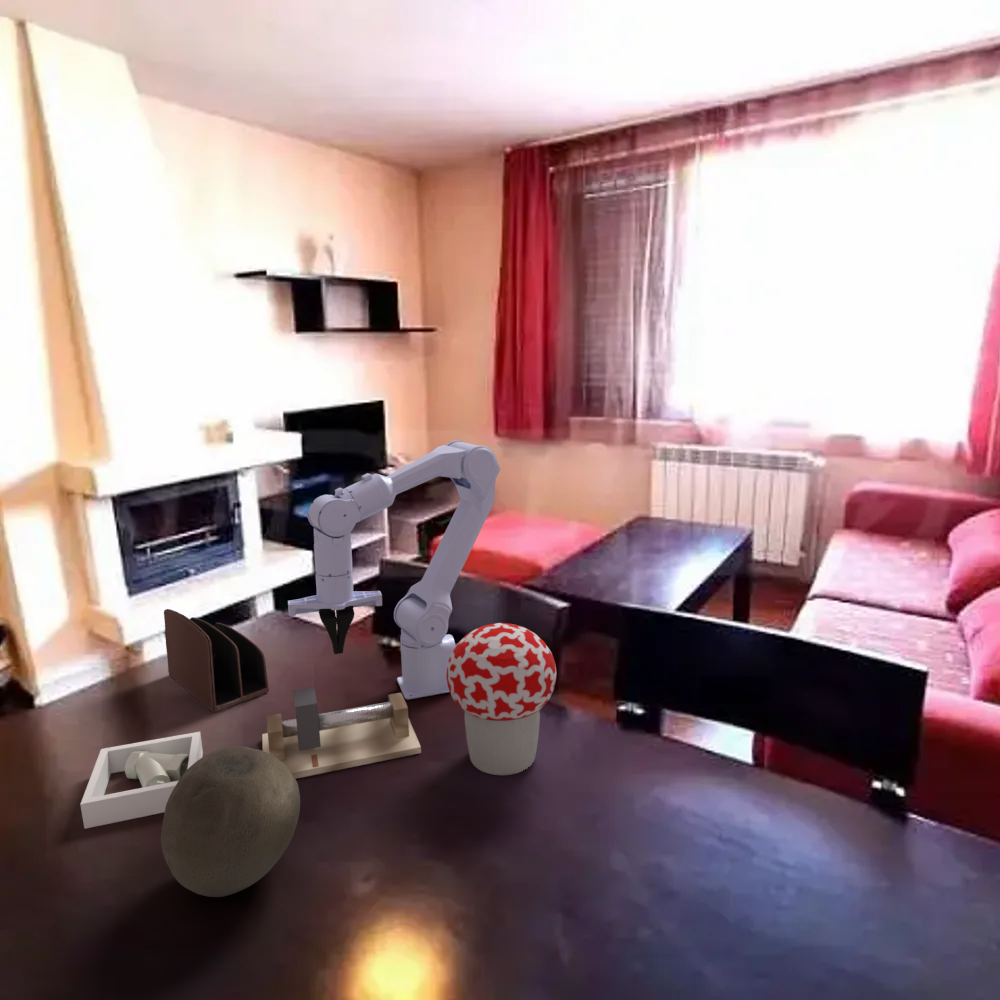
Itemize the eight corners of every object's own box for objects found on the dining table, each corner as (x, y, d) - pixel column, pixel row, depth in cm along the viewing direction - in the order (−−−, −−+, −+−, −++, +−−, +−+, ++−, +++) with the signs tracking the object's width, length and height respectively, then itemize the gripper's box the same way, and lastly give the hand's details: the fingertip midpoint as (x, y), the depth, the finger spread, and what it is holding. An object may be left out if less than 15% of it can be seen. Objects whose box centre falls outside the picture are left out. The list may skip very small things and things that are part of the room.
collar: (317, 728, 106) (314, 686, 104) (320, 746, 101) (317, 703, 100) (297, 732, 105) (293, 690, 104) (299, 750, 100) (295, 707, 99)
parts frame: (202, 752, 104) (200, 731, 103) (196, 805, 92) (193, 781, 91) (104, 770, 100) (101, 749, 99) (84, 828, 88) (80, 804, 87)
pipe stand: (404, 713, 114) (403, 681, 113) (421, 752, 103) (419, 717, 102) (262, 739, 107) (259, 705, 106) (264, 785, 96) (260, 747, 95)
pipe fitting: (166, 805, 93) (194, 771, 99) (161, 780, 92) (190, 748, 98) (111, 800, 94) (142, 768, 101) (106, 776, 93) (137, 744, 99)
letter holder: (213, 714, 115) (204, 634, 112) (168, 676, 129) (159, 604, 126) (270, 693, 122) (263, 617, 119) (221, 659, 136) (213, 590, 133)
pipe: (403, 710, 109) (402, 695, 108) (406, 718, 106) (406, 703, 106) (268, 735, 102) (267, 719, 102) (268, 744, 100) (267, 728, 99)
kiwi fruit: (225, 949, 70) (210, 817, 67) (143, 893, 77) (125, 772, 74) (329, 861, 81) (320, 746, 78) (249, 820, 89) (237, 713, 86)
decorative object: (497, 804, 91) (494, 663, 87) (427, 754, 103) (422, 626, 98) (578, 758, 101) (579, 628, 97) (506, 716, 113) (505, 599, 108)
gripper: (287, 583, 104) (292, 668, 107) (384, 573, 109) (387, 655, 112) (285, 570, 111) (290, 649, 114) (376, 561, 116) (379, 638, 118)
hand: (338, 651), depth 113 cm, fingers closed
